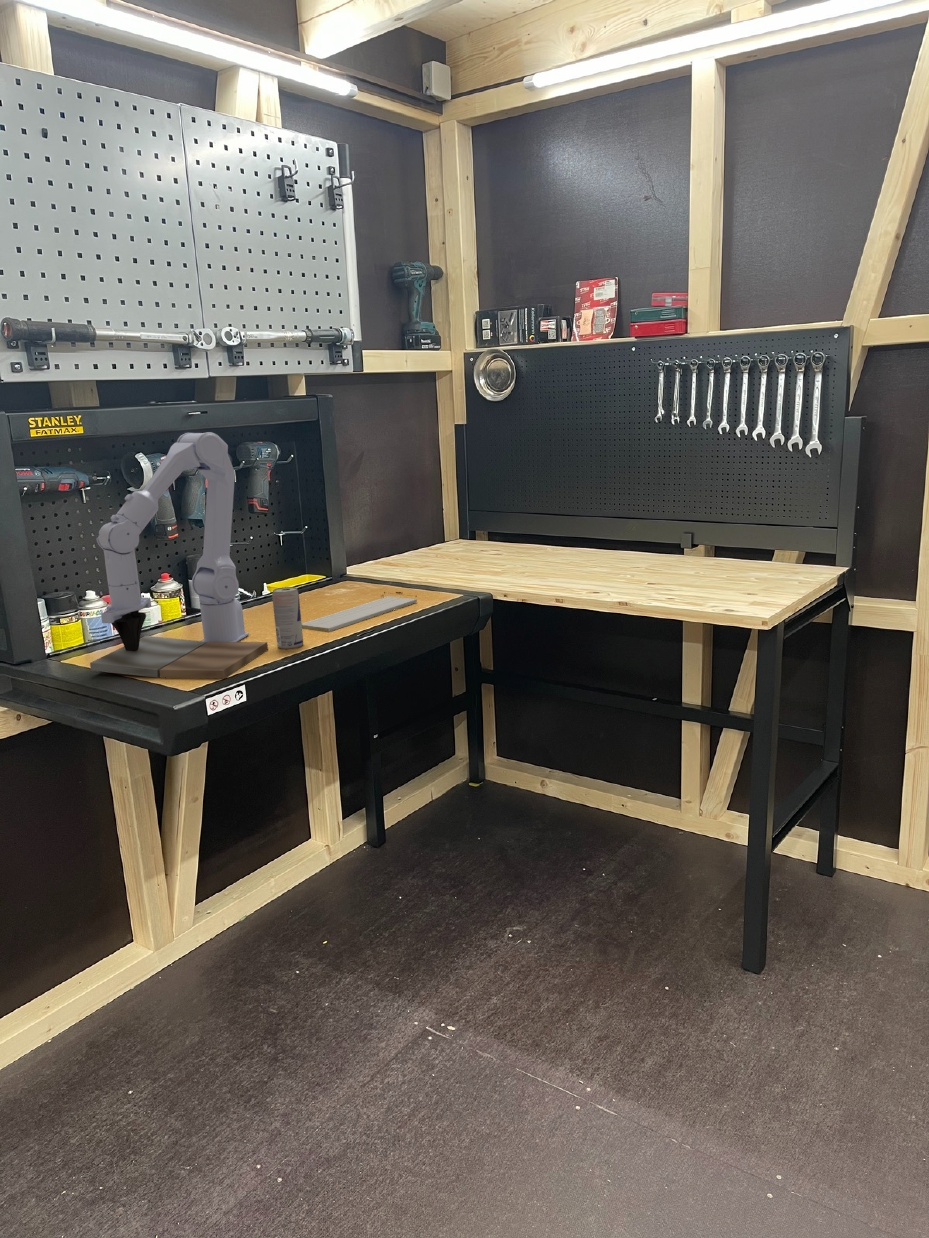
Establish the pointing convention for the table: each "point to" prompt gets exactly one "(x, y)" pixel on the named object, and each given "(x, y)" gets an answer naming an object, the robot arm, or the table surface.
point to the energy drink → (287, 617)
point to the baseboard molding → (358, 613)
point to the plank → (146, 656)
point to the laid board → (214, 660)
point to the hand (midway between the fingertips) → (132, 650)
